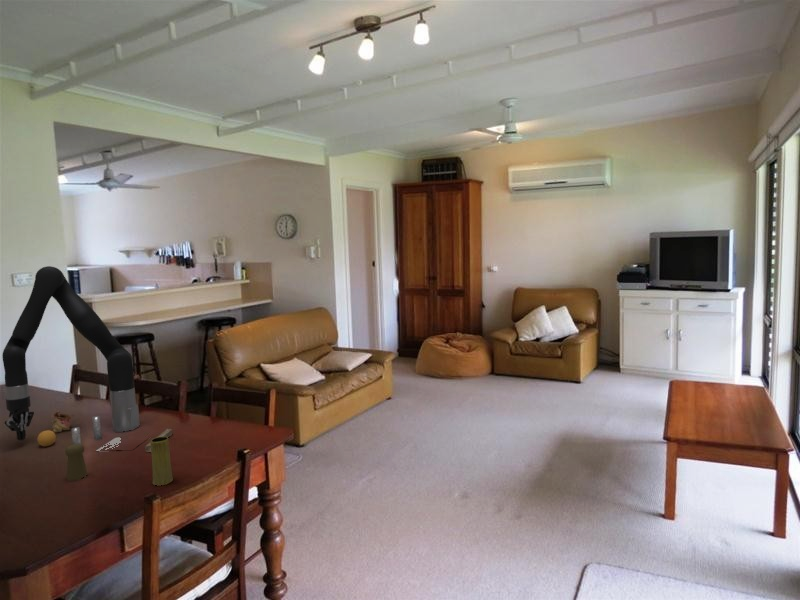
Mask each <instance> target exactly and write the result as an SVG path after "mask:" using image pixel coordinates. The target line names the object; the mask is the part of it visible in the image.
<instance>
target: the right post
mask: <svg viewBox="0 0 800 600" xmlns="http://www.w3.org/2000/svg"><path fill="white" fill-rule="evenodd" d="M91 419H92V427H93V428H92V429H93V440H95V441H98V440H101V439H103V436H102V428H101V416H100V415H95V416H92V417H91Z"/></svg>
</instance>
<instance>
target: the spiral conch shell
mask: <svg viewBox="0 0 800 600" xmlns="http://www.w3.org/2000/svg"><path fill="white" fill-rule="evenodd" d="M74 417H75V415H74V414H71V415H69V414H66V413H61V410H56V411H54V412H52V414H51V420H52V422H51V424H52V427H51V428H52V431H53V432H54V433H55V434H56V433H61V432H62V430H63V431H72V430H71V429H72V428H70V427H71V425H72V424H71V423H70V422H69V421H71V420H72V419H73V418H74Z"/></svg>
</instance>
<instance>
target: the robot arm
mask: <svg viewBox="0 0 800 600" xmlns="http://www.w3.org/2000/svg"><path fill="white" fill-rule="evenodd" d="M51 298H53V299H54V300H55V301H56V302H57V303H58V304H59V306H60V308H61V309H62V311H63V313H64V315H65V316H66V318H67V320H69V322H70V324H72V325H73V327H74V328H75V329H76V331H78V332H79V334H80V335H81V336H83V337H84V338H85V339H86V340H87V341H88V342H90V343H91V344H92V345H94V346H95V347H96V348H97V350H99V352H100V353H101V354H102V356H103V357H104V358H105V360H106V361H107V362H106V367H107V368H106V370H107V371H106V372H107V379H108V386H109V399H110V411H111V420H112V421H111V422H112V430H113V432H114V433H115V432H116V433H123V431H125V432H128V431H129V430H131V431H134V430H135V429H137V428H138V427H140V426H139V425H140V412H139V411H140V410H139V404H138V403H137V401H136V389H135V386H136V385H135V378H134V368H133V367H134V366H133V356H132V354H131V352H129V351H128V350H127V349H126V348H125V347H124V346H123V345H122V344H121V343H120V342H119V341H118V340H117V339H116V338H115V337H114V336H113V335H112V333H111V331H110V330H109V328H108V327H107V326H106V324H105V322H104V321H103V320H102V319H101V317H100V316H99V315H98V314H97V312H95V310H94V309H93V308H92V307H91V306H90V305H89V303H87V302H86V301H85V300H84V299H83V298H82V297H81V296H80V295H79V294H78V293H77V292H76V291H75V290H74V289H73V287H72V286H71V284H70V283H69V281H68V280H67V278H66V277H65V275H64V273H63V271H61V270H60V269H59V268H57V267H55V266H51V265H50V266H43V267H41V268H39V269H38V270H37V272H36V273H35V278H34V283H33V287H32V291H31V294H30V296H29V299H28V301H27V302H26V305H25V306H24V308H23V310H22V312H21V314H20V316H19V318H18V320H17V322H16V324H15V326H14V328H13V331H12V334H11V336H10V337H9V339H8V341H7V343H6V345H5V347H4V349H3V351H2V363H3V368H4V385H5V389H4V390H5V391H4V393H5V404H6V406H5V407H6V410H7V411H8V412H9V414H8V417H9V418H8V420H5V421H4V424H5V426H6V427H8V429H9V430H10V432H16V433H15V434H16V440H17V441H18V442H19V441H24V440H25V439H27V437H26V436H27V435H26V434H27V433H26V431H27V428H28V427H30V425H31V423H32V421H33V417H34V414H35V412H34V411H30V407H31V395H30V387H29V383H28V382H29V380H28V372H27V367H26V366H27V365H26V364H27V363H26V354H27V350H28V349H29V346H30V344H31V341H32V340H33V339H34V338H35V335H36V334H37V331H38V329H39V327H40V324H41V322H42V319H43V317H44V314H45V311H46V308H47V306H48V303H50V302H49V301H50V300H51Z"/></svg>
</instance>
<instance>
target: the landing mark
mask: <svg viewBox="0 0 800 600" xmlns="http://www.w3.org/2000/svg"><path fill="white" fill-rule="evenodd" d="M120 440H121V438H120V436H119V437H118V436H117V437H116V436H115V438H112V440H110V441H108V442H107V443H105V444H104V445H106V446H104V445H103V447H102V446H100V447H99V448H98V449H97V450H95V451H99V452H101V451H100V450H101V449H103V448H104V447H107V446H108V445H112V446H110V447H109V448H112V447H114V446H115V445H118V444H119V443H121V441H120ZM109 443H110V444H109ZM116 443H117V444H116ZM107 444H108V445H107ZM114 444H115V445H114ZM118 446H119V445H118ZM118 446H116V447H118ZM109 448H106V449H105V450H107V449H109ZM114 448H115V447H114ZM112 449H113V448H112Z"/></svg>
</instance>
